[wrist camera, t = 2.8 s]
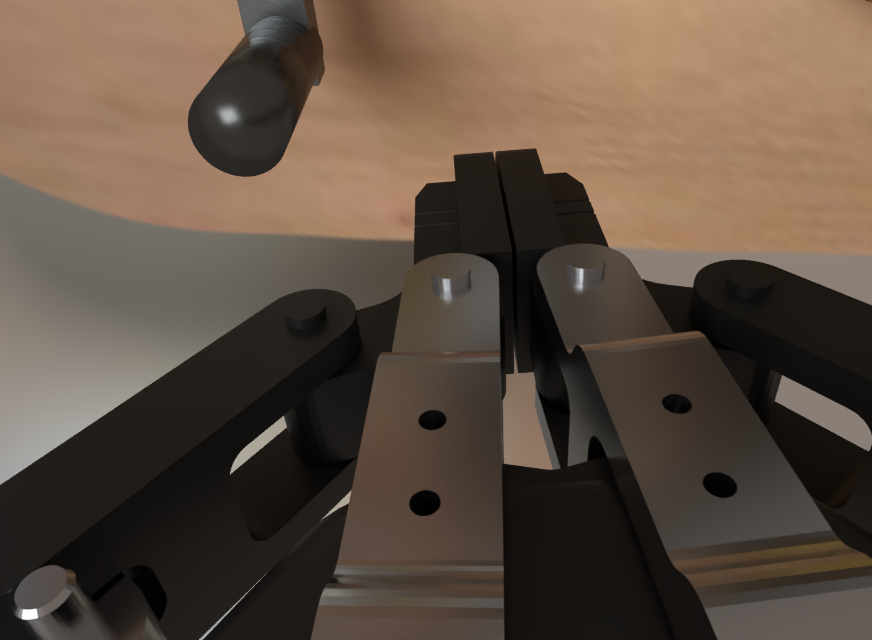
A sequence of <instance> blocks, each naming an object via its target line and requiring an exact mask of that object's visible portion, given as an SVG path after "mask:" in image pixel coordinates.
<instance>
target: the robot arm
mask: <svg viewBox="0 0 872 640" xmlns="http://www.w3.org/2000/svg"><path fill="white" fill-rule="evenodd" d="M454 168H455V181H452V182H439V183H427V184H426V185H425V186H424V188H423V189H422V190H421V191H420V192H419V194H418V195H417V196H416V197H415V233H414V266H413V267H412V268H411V269H410V270H409V271H408V273H407V274H406V276H405V280H404V284H403V290H402V292H401V293H400V294H398V295H397V296H395V297H394V298H392V299H390V300H388V301H385V302H383V303H381V304H377V305H374V306H371V307H367V308H364V309H360V310H356V308H355V305H354V303H353V302H352V301H351V299H350V298H348V297H347V296H346V295H344V294H342V293H339V292H336V291H332V290H327V289H311V290H303V291H299V292H295V293H292V294H289V295H286V296H284V297H281V298H279V299H278V300H276V301H274V302H273V303H271V304H270V305H268V306H267V307H265V308H264V309H262V310H261V311H259V312H258V313H256V314H255V315H253V316H252V317H250V318H249V319H247V320H246V321H244V322H243V323H241V324H240V325H238V326H237V327H235V328H234V329H232V330H231V331H229V332H228V333H226V334H225V335H223V336H222V337H220V338H219V339H217V340H216V341H214V342H213V343H212V344H210V345H209V346H207V347H205V348H204V349H203V350H201V351H200V352H198V353H196V354H195V355H194V356H192V357H191V358H189V359H188V360H186V361H185V362H183V363H182V364H180V365H179V366H177V367H176V368H174V369H173V370H171V371H170V372H168V373H167V374H165V375H164V376H162V377H161V378H159V379H158V380H156V381H155V382H153V383H152V384H150V385H149V386H147V387H146V388H144V389H143V390H141V391H140V392H138V393H137V394H135V395H134V396H132V397H131V398H129V399H128V400H126V401H125V402H124V403H122V404H120V405H119V406H118V407H116V408H114V409H113V410H112V411H110V412H109V413H107V414H106V415H104V416H103V417H101V418H100V419H98V420H97V421H95V422H94V423H92V424H91V425H89V426H88V427H86V428H85V429H83V430H82V431H80V432H79V433H77V434H76V435H74V436H73V437H71V438H70V439H68V440H67V441H65V442H64V443H62V444H61V445H59V446H58V447H57V448H55V449H53V450H52V451H50V452H49V453H47V454H46V455H44V456H43V457H41V458H40V459H39V460H37V461H35V462H34V463H32V464H31V465H29V466H28V467H27V468H25V469H23V470H22V471H21V472H19V473H18V474H16V475H15V476H13V477H12V478H10V479H9V480H7V481H6V482H4V483H3V484H1V485H0V640H199V639H200V638H201V637H202V636H203V635H204V634H205V633H206V632H207V631H208V630H209V629H210V628H211V627H212V626H213V625H214V624H215V623H216V622H217V621H218V620H219V619H220V618H221V617H222V616H223V615H224V614H225V613H226V612H227V611H228V610H229V609H230V608H232V606H233V605H235V604H236V603H237V602H238V601H239V600H240V599H241V598H242V597H243V596H244V595H245V594H246V593H247V592H248V591H249V590H250V589H251V588H252V587H253V586H254V585H255V584H256V583H257V582H258V581H259V580H260V579H261V578H262V577H263V576H264V575H265V574H266V573H267V572H268V571H269V572H268V573H267V574H266V575H265V576H264V577H263V578H262V579H261V580H260V581H259V582H258V583H257V584H256V585H255V586H254V587H253V588H252V589H251V590H250V591H249V592H248V593H247V594H246V595H245V597H244V598H243V599H242V600H241V601H240V602H239V603H238V604H237V605H236V606H235V607H234V608H233V609H232V610H231V611H230V612H229V613H228V614H227V615H226V616H225V617H224V618H223V619H222V620H221V622H220V623H219V624H218V625H217V626H216V627H215V628H214V629H213V630H212V631H211V632H210V633H209V634H208V635H207V636H206V637H205V638H204V639H203V640H872V446H871V449H870V451H867V450H864V449H863V448H860V447H859V446H857V445H855V444H853V443H851V442H850V441H847V440H846V439H844V438H842V437H840V436H838V435H836V434H835V433H833V432H831V431H829V430H827V429H825V428H823V427H822V426H820V425H818V424H816V423H814V422H812V421H810V420H809V419H807V418H805V417H803V416H801V415H799V414H797V413H795V412H794V411H792V410H790V409H788V408H786V407H784V406H782V405H781V404H779V403H777V402H775V398H776V394H777V391H778V387H779V384H780V380H781V377H782V375H783V376H785V377H787V378H789V379H791V380H793V381H795V382H797V383H799V384H801V385H803V386H805V387H807V388H809V389H811V390H813V391H815V392H817V393H819V394H821V395H823V396H825V397H827V398H829V399H831V400H833V401H835V402H837V403H839V404H841V405H843V406H845V407H847V408H849V409H850V410H852V411H854V412H855V413H857V414H858V415H859V416H860V417H861V418H862V419H863V420H864V421H865V422H866V424H867V425H868V427H869V429H870V431H871V433H872V305H869V304H867V303H864V302H862V301H860V300H857V299H855V298H852V297H849V296H847V295H845V294H842V293H840V292H837V291H835V290H832V289H830V288H827V287H825V286H822V285H820V284H817V283H815V282H812V281H810V280H807V279H805V278H802V277H800V276H797V275H795V274H792V273H790V272H787V271H785V270H782V269H780V268H777V267H775V266H772V265H769V264H765V263H761V262H757V261H750V260H725V261H720V262H716V263H713V264H710V265H708V266H706V267H704V268H702V269H701V270H700V271H699V272H698V273H697V275H696V277H695V280H694V286H693V288H691V287H682V286H674V285H665V284H659V283H654V282H650V281H646V280H643V279H641V277H640V276H639V274H638V273H637V271H636V269H635V267H634V266H633V264H632V262H631V261H630V260H629V259H628V258H627V257H626V256H625V255H624V254H622V253H620V252H619V251H617V250H614V249H612V248H609V247H608V244H607V242H606V239H605V237H604V234H603V232H602V229H601V227H600V225H599V222H598V220H597V217H596V215H595V214H594V210H593V208H592V205H591V203H590V202H589V198H588V195H587V193H586V190H585V188H584V186H583V184H582V183H580V182H579V181H578V180H576V179H575V178H573V177H572V176H570V175H569V174H568V173H553V174H544V172H543V169H542V166H541V163H540V159H539V156H538V153H537V150H536V148H534V149H521V150H508V151H496V155H495V160H494V155H493V152H485V153H472V154H460V155H454ZM514 351H515V357H516V363H517V369H518V373H527V372H534V377H535V382H536V384H535V385H536V387H535V389H536V391H535V407H536V412H537V415H538V419H539V423H540V426H541V430H542V433H543V436H544V440H545V443H546V447H547V450H548V454H549V457H550V461H551V463H552V467H553V470H546V469H538V468H530V467H523V466H516V465H508V464H504V450H503V449H504V447H503V405H502V404H503V403H502V401H503V398H504V397H505V393H506V374H513V373H514ZM282 416H284V418H285V421H286V425H287V428H286V429H284V430H283V431H282V432H281V433H280V434H278V435H277V436H276V437H275V438H274V439H273V440H271V441H270V442H269V443H268V444H267V445H265V446H264V447H263V448H262V449H260V450H259V451H258V452H257V453H256V454H254V455H253V456H252V457H251V458H250V459H248V460H247V461H246V462H245V463H244V464H242V465H241V466H240V467H239V468H238V469H236V470H235V471H234V472H233V473H231V474H230V471H231V467H232V464H233V462H234V460H235V459H236V457H237V455H238V454H239V453H240V452H241V451H242V449H243V448H245V446H247V445H248V444H249V443H250V442H252V441H253V440H254V439H255V438H257V437H258V436H259V435H260V434H262V433H263V432H264V431H265V430H266V429H268V427H270V426H271V425H273V424H274V423H275V422H276V421H277V420H279V419H280V418H281V417H282ZM351 490H352V491H351ZM350 491H351V496H350V501H349V503H348V504H347V505H345V506H343V507H341V508H339V509H337V510H336V511H334V512H333V513H331V514H330V515H328V516H327V517H325V518H324V519H322V518H323V517H324V516H325V515H326V514H327V513H328V512H329V511H330V510H331V509H333V508H334V507H335V506H336V505H337V504H338V503H339V502H340V501H341V500H342V499H343V498H344V497H345V496H346V495H347V494H348V493H349V492H350ZM321 519H322V520H321ZM320 520H321V521H320ZM319 521H320V522H319ZM318 522H319V523H318Z"/></svg>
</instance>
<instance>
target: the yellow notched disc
mask: <svg viewBox="0 0 872 640" xmlns="http://www.w3.org/2000/svg"><path fill="white" fill-rule="evenodd" d="M237 2H238V6H239V10H240V15H241V19H242V23H243V27H244V32H245V36H244V38H243V39H242V40H241V41H240V43H239V44H238V45H237V46H236V48H235V49H234V50H233V52H232V53H231V54H230V55H229V57H228V58H227V59H226V60H225V62H224V63H223V64H222V65H221V67H220V68H219V69H218V70H217V72H216V73H215V74H214V75H213V77H212V78H211V79H210V81H209V82H208V83H207V84H206V86H205V87H204V88H203V89H202V91H201V92H200V93H199V94H198V96H197V97H196V98H195V100H194V101H193V103H192V105H191V108H190V110H189V115H188V128H189V133H190V136H191V139H192V142H193V144H194V145H195V147H196V149H197V150H198V152H199V153H200V154H201V155H202V157H203V158H204V159H205V160H206V161H207V162H209V163H210V164H211V165H213V166H214V167H216V168H217V169H219V170H221V171H223V172H225V173H228V174H231V175H235V176H243V177H250V176H256V175H260V174H263V173H265V172H267V171H269V170H271V169H272V168H273V167H274V166H276V165H277V164H278V162H279V161H280V160H281V158H282V157H283V155H284V153H285V150H286V148H287V145H288V143H289V141H290V138H291V136H292V134H293V131H294V129H295V126H296V124H297V122H298V119H299V117H300V114H301V112H302V110H303V107H304V105H305V103H306V100H307V98H308V95H309V93H310V91H311V88H312V86H317V85H319V84H320V82H321V79H322V77H323V74H324V72H325V66H324V60H323V45H322V41H321V38H320V35H319V32H318V26H317V20H316V14H315V8H314V3H313V0H237Z"/></svg>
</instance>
